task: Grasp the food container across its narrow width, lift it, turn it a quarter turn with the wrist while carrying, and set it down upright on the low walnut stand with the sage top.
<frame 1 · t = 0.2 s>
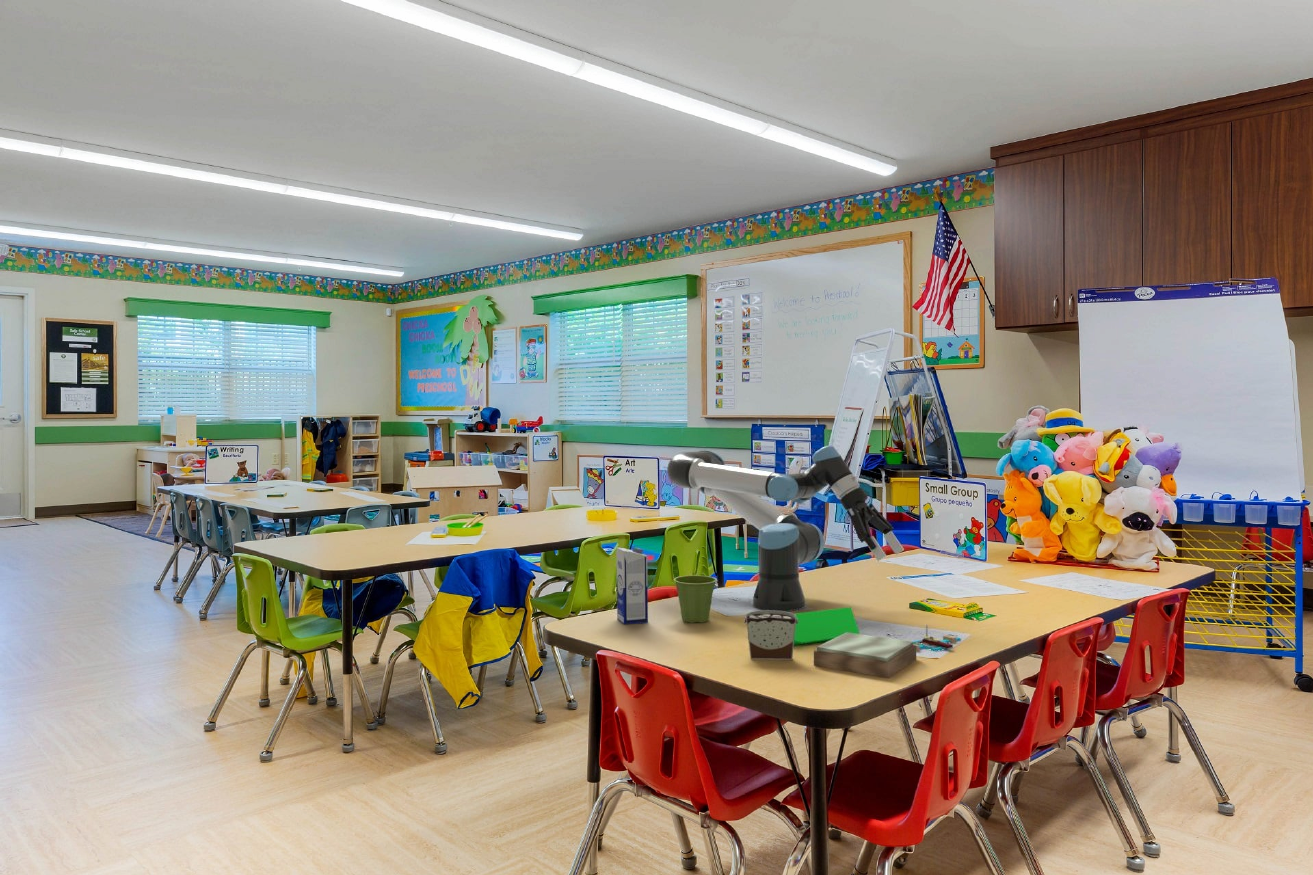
hand: (891, 555, 244), 15 cm above the table, tool tilted 35°, fingers open, 13 cm apart
plant pot: (695, 620, 234), on the table
food container: (770, 656, 197), on the table
stand: (865, 662, 191), on the table
milk carton: (632, 621, 234), on the table
toy boat: (933, 649, 204), on the table
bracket: (812, 639, 214), on the table
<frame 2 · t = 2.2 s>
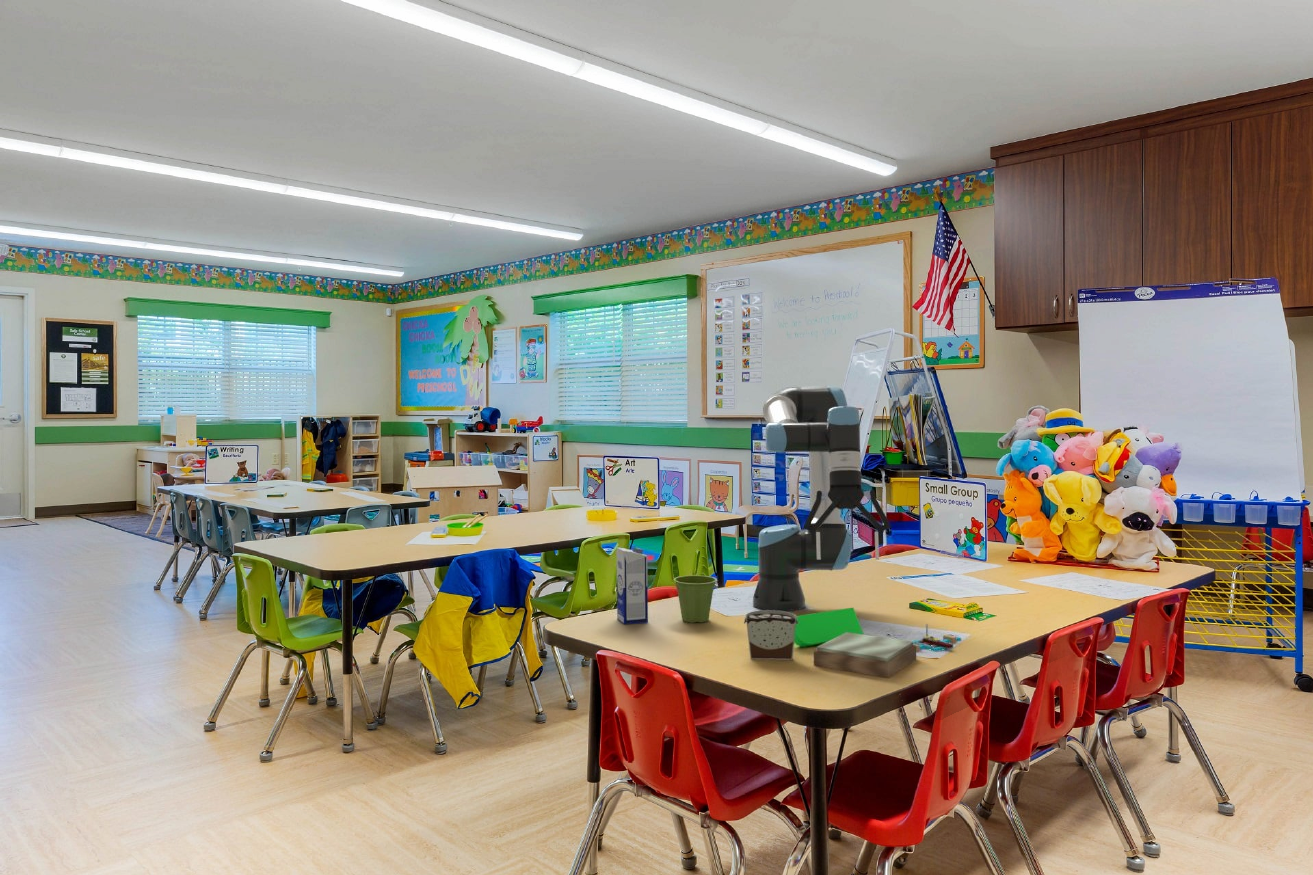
hand: (847, 559, 204), 21 cm above the table, tool pointing down, fingers open, 13 cm apart
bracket: (816, 640, 213), on the table
everything else where it was.
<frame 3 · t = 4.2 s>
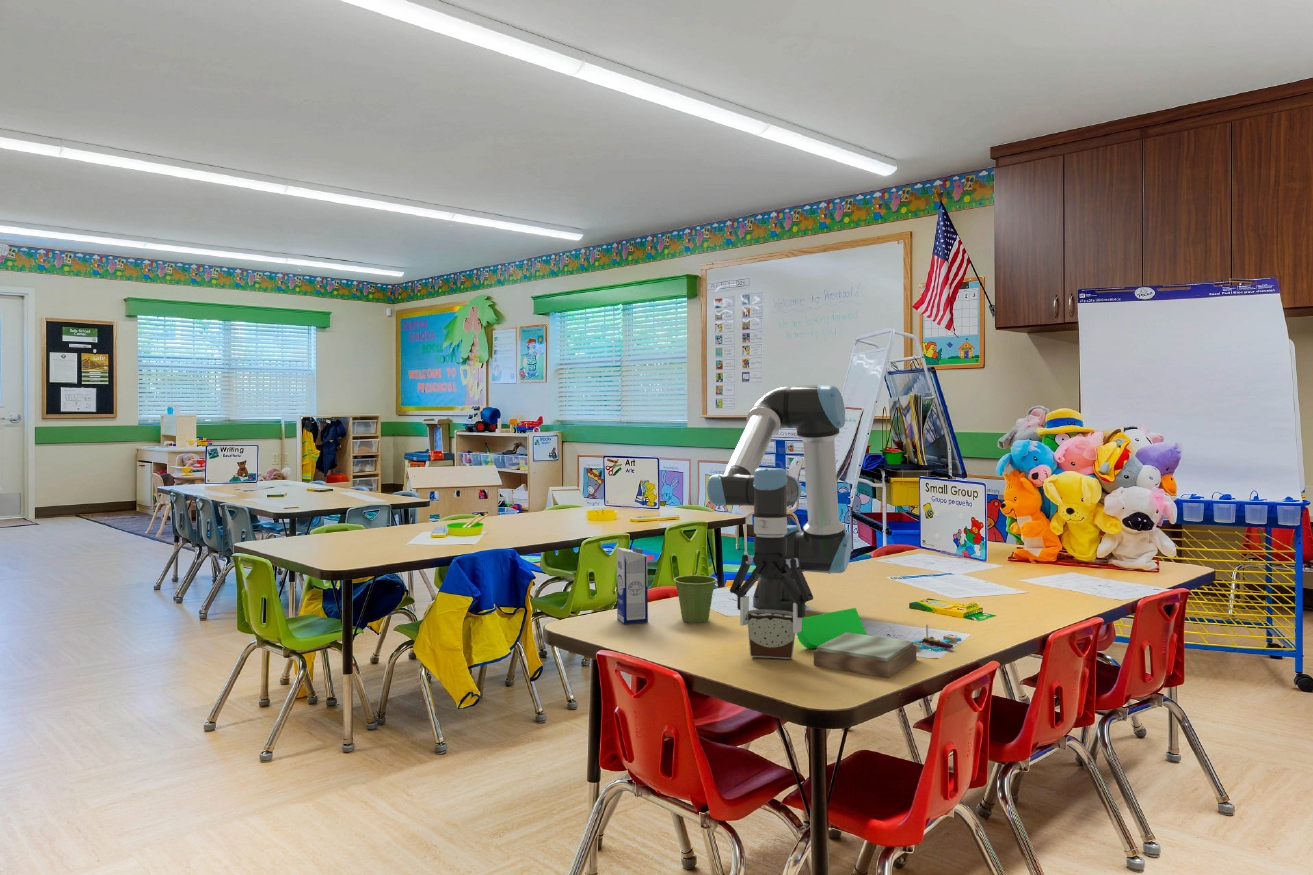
hand: (770, 628, 197), 6 cm above the table, tool pointing down, fingers open, 13 cm apart
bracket: (820, 641, 211), on the table
everything else where it was.
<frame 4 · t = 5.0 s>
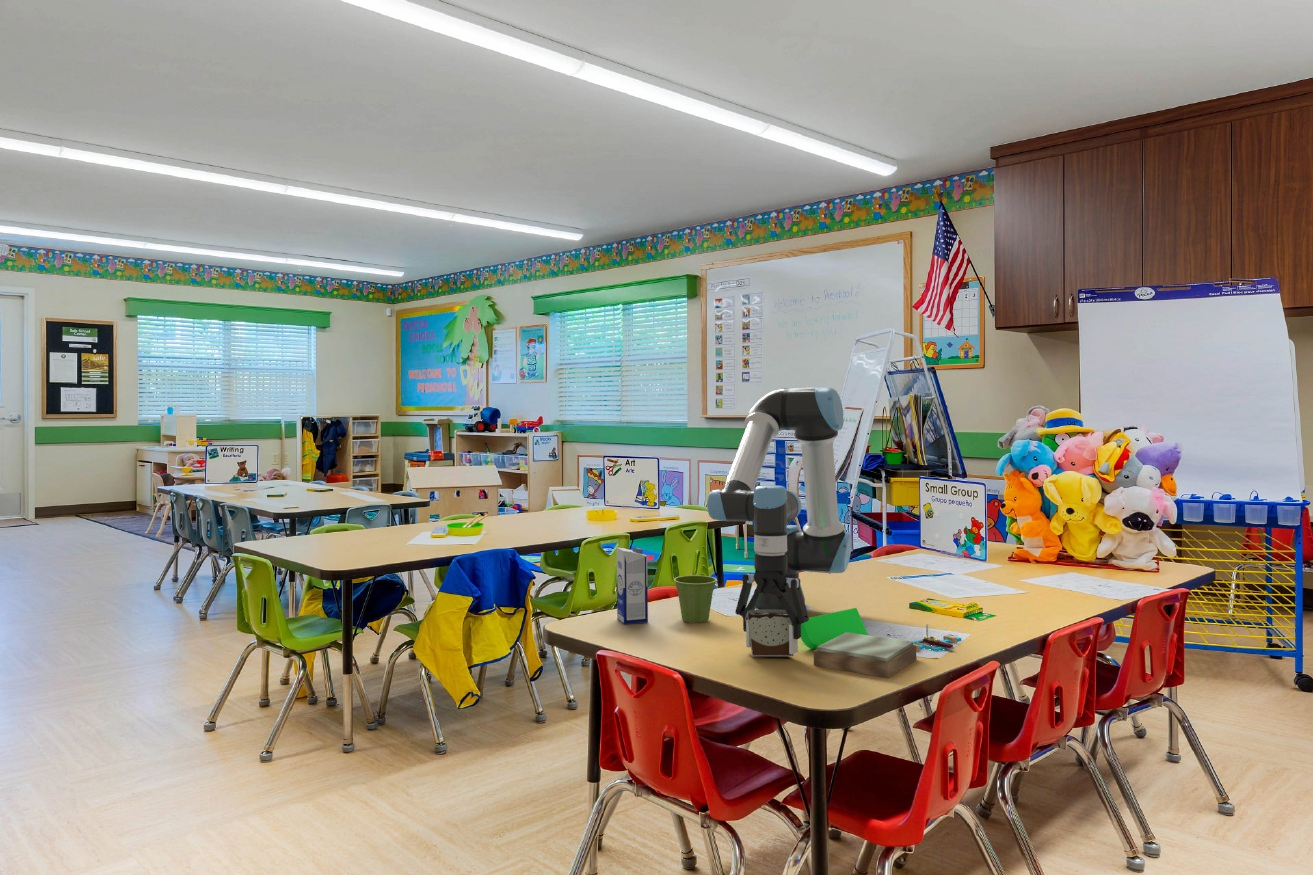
hand: (771, 649, 197), 2 cm above the table, tool pointing down, fingers closed on food container, 10 cm apart
food container: (771, 655, 197), on the table, touching gripper
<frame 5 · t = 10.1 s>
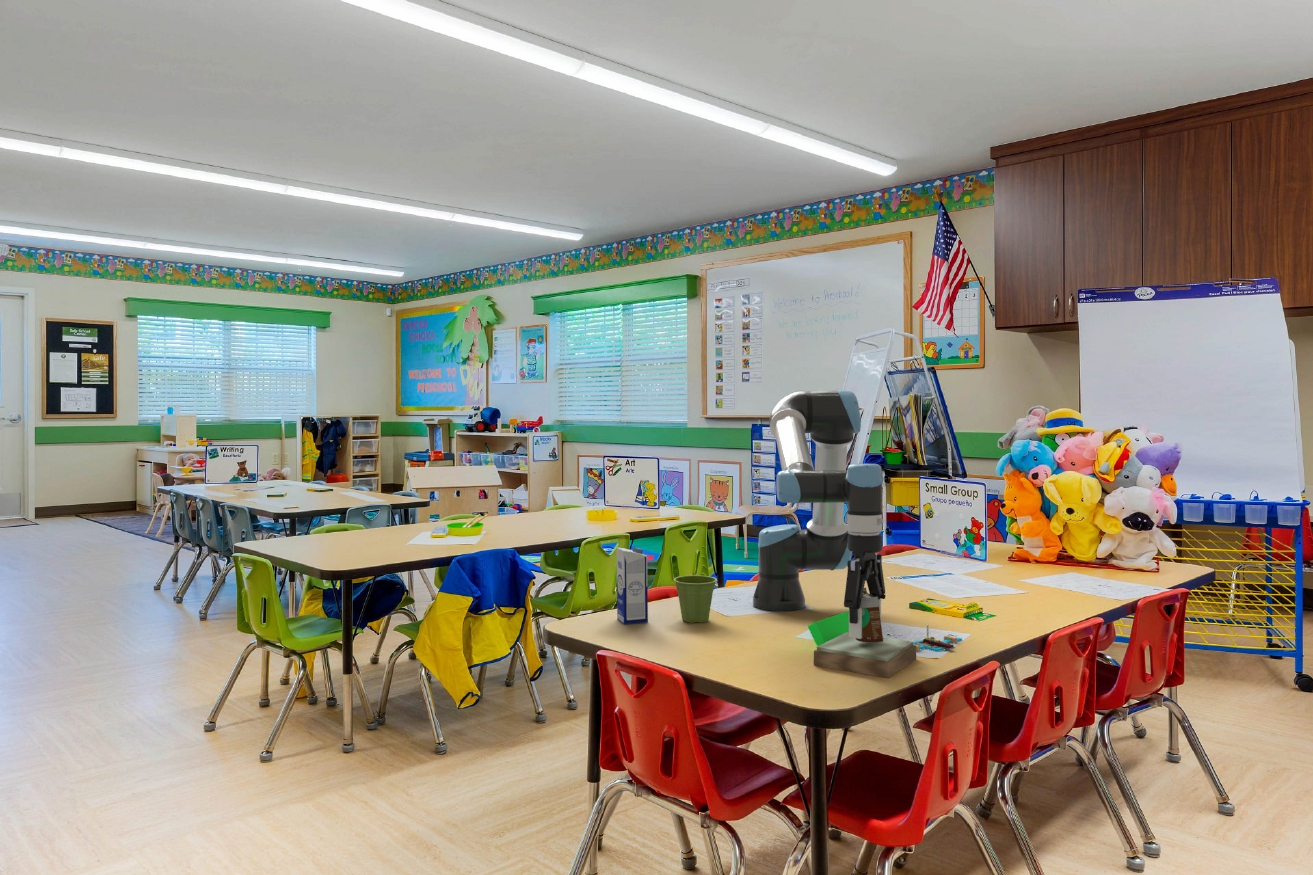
hand: (865, 632, 191), 7 cm above the table, tool pointing down, fingers closed on food container, 10 cm apart
food container: (864, 639, 191), point 5 cm above the table, touching gripper
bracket: (828, 644, 209), on the table
everything else where it was.
when the fingers open (6 cm above the table, at t = 10.8 s): food container stays where it is, resting on stand.
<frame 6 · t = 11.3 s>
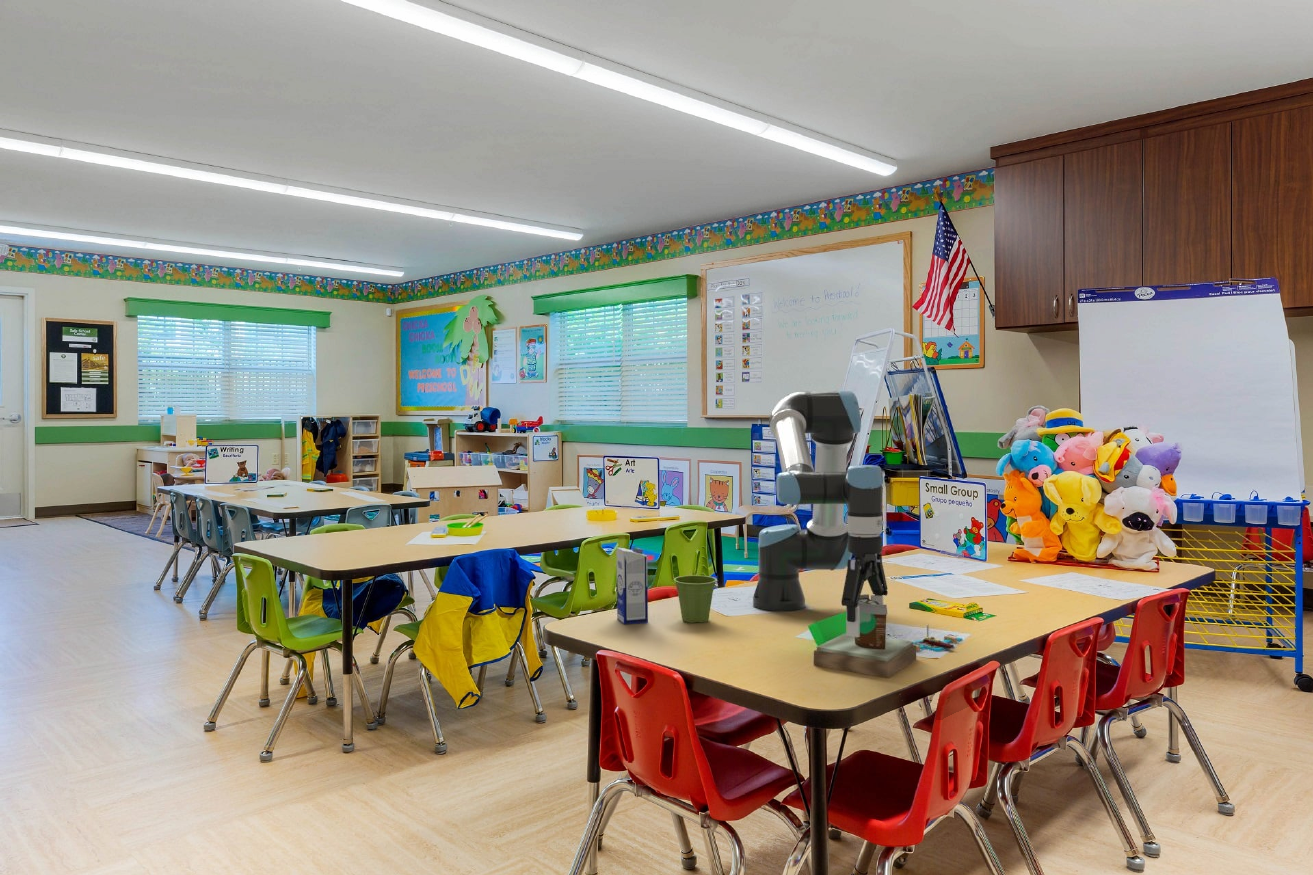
hand: (865, 630, 191), 7 cm above the table, tool pointing down, fingers open, 13 cm apart
food container: (864, 645, 191), point 4 cm above the table, touching stand
everything else where it was.
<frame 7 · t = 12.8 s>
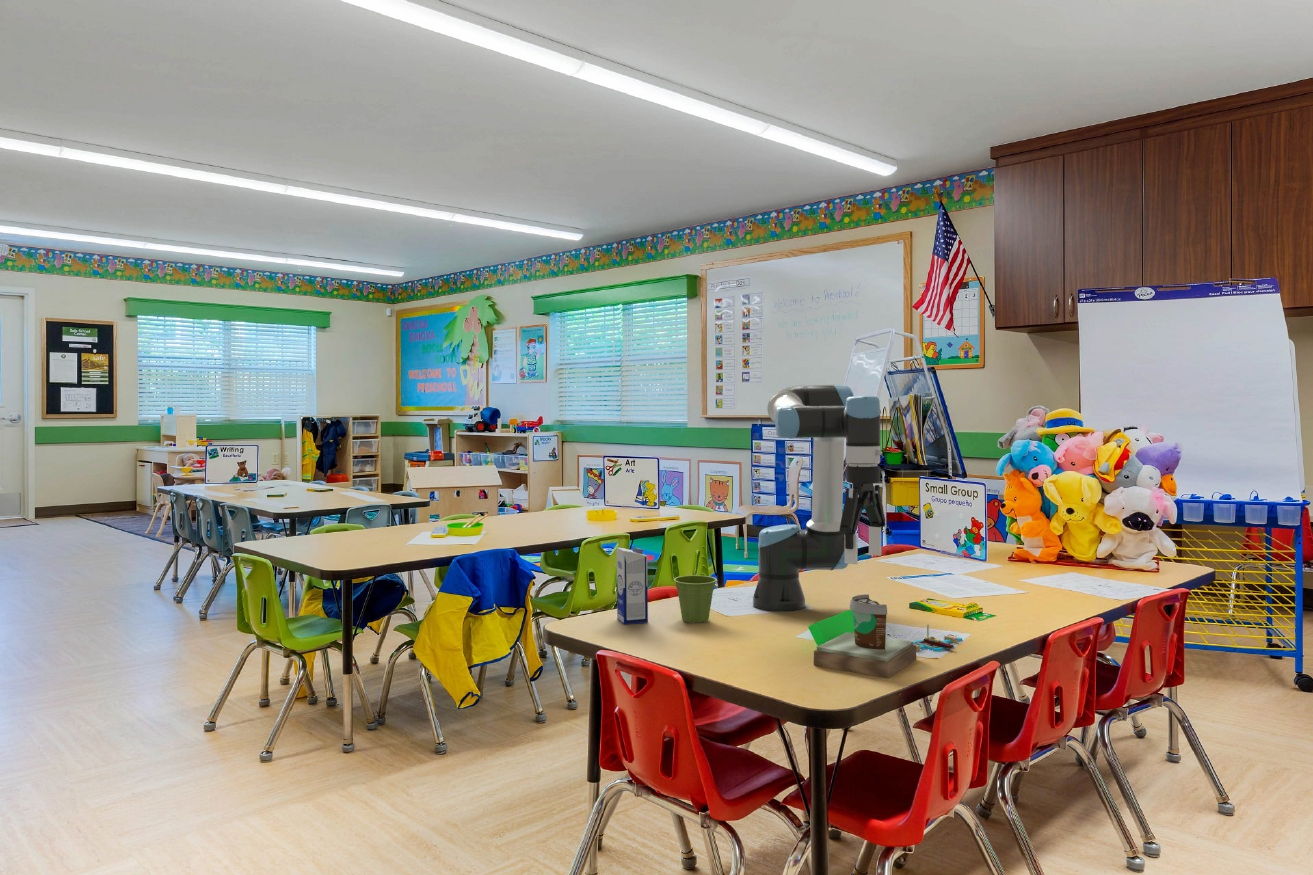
hand: (863, 559, 193), 23 cm above the table, tool pointing down, fingers open, 13 cm apart
nothing on the table moved.
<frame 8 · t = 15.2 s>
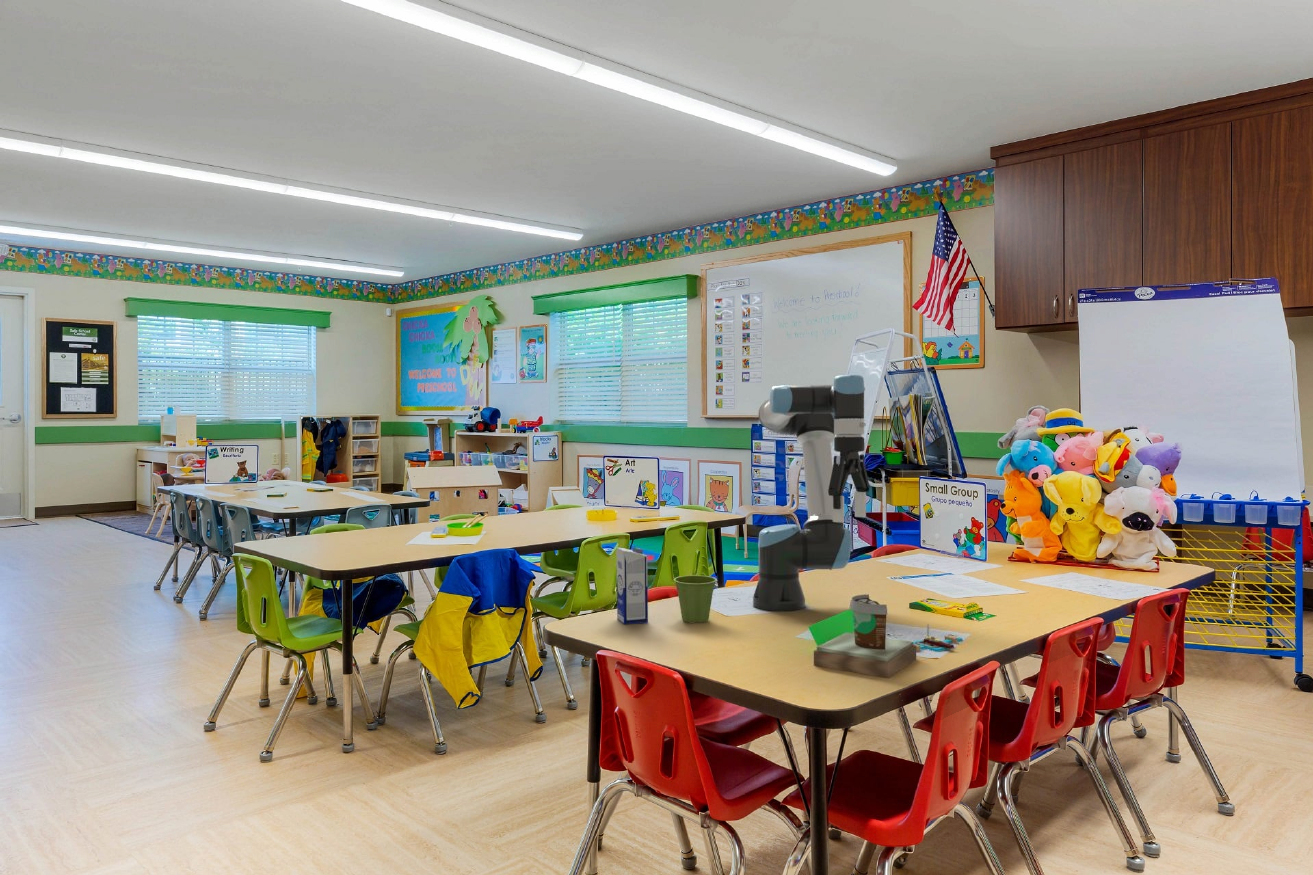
hand: (849, 519, 218), 29 cm above the table, tool pointing down, fingers open, 13 cm apart
at the end: food container inside the target area on the stand (0.3 cm from its centre), point 3.8 cm above the stand's base; food container tilted 0°; the gripper is holding nothing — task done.
